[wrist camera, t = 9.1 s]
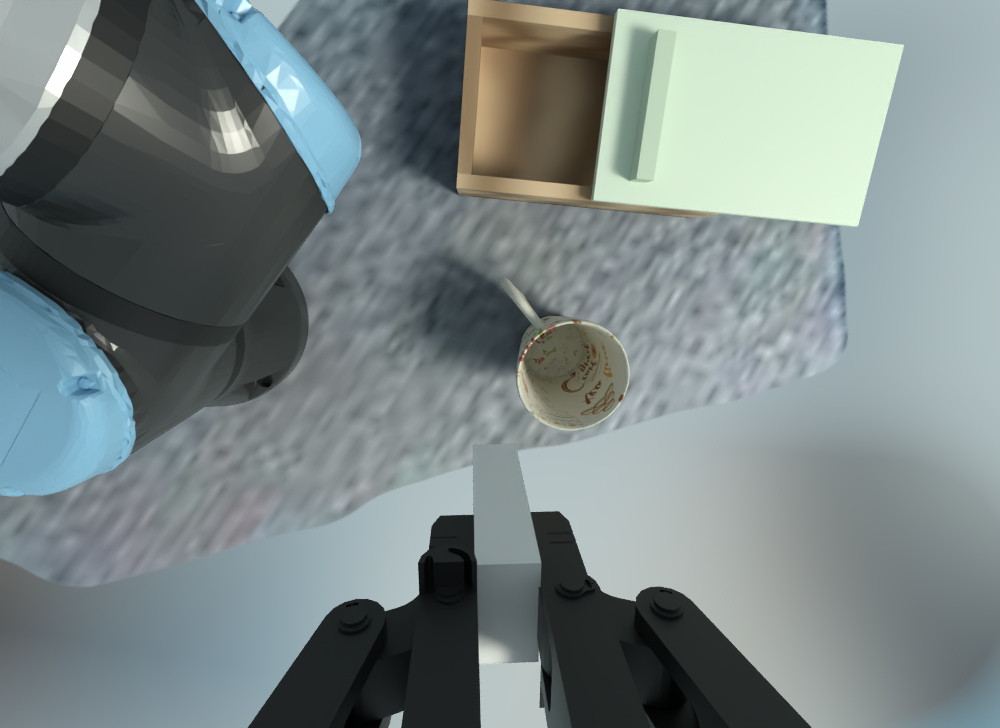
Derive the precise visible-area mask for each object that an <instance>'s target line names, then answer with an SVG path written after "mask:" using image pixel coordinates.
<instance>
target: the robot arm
mask: <svg viewBox="0 0 1000 728" xmlns="http://www.w3.org/2000/svg"><path fill="white" fill-rule="evenodd" d="M360 158H361V139H360V136H359V133H358V130H357V128H356V125H355V124H354V122H353V120H352V118H351V117H350V115H349V114H348V112H347V111H346V110H345V108H344V107H343V105H342V104H341V103H340V102H339V100H338V99H337V98H336V97H335V95H334V94H333V93H332V91H331V90H330V89H329V88H328V87H327V85H326V84H325V83H324V82H323V81H322V79H321V78H320V77H319V76H318V75H317V73H316V72H315V71H314V70H313V69H312V68H311V66H310V65H309V64H308V63H307V62H306V61H305V60H304V58H303V57H302V56H301V55H300V54H299V53H298V52H297V51H296V49H295V48H294V47H293V46H292V45H291V44H290V43H289V42H288V41H287V39H286V38H285V37H284V36H283V35H282V34H281V33H280V32H279V31H278V30H277V29H276V28H275V26H274V25H273V24H272V23H271V22H270V21H269V20H268V19H267V18H266V17H265V16H264V15H263V14H262V13H261V12H259V11H258V10H257V9H255V8H253V7H252V6H251V4H250V2H249V0H0V495H3V496H22V495H39V496H41V495H47V494H52V493H56V492H59V491H63V490H66V489H68V488H71V487H73V486H75V485H77V484H79V483H81V482H83V481H85V480H87V479H89V478H91V477H93V476H95V475H98V474H101V473H105V472H107V471H109V470H112V469H114V468H116V467H117V466H118V465H119V464H120V463H121V462H123V461H124V460H125V459H126V458H127V457H128V456H129V455H130V454H132V453H134V452H135V451H137V450H138V449H140V448H141V447H143V446H144V445H146V444H148V443H149V442H151V441H152V440H154V439H155V438H157V437H159V436H160V435H162V434H163V433H165V432H166V431H168V430H169V429H171V428H173V427H174V426H176V425H177V424H179V423H180V422H182V421H184V420H185V419H187V418H188V417H190V416H191V415H193V414H194V413H196V412H198V411H199V410H201V409H202V408H204V407H213V406H229V405H235V404H240V403H244V402H247V401H250V400H252V399H255V398H257V397H259V396H261V395H263V394H265V393H266V392H268V391H269V390H271V389H272V388H274V387H275V386H276V385H278V384H279V383H280V382H282V381H283V380H284V379H285V378H286V377H287V376H288V375H289V374H290V373H291V372H292V370H293V369H294V368H295V366H296V365H297V363H298V362H299V360H300V358H301V356H302V354H303V351H304V348H305V345H306V341H307V336H308V324H309V323H308V311H307V306H306V302H305V298H304V295H303V292H302V290H301V288H300V285H299V283H298V282H297V280H296V278H295V276H294V275H293V273H292V272H291V270H290V269H289V268H288V266H287V265H288V264H289V263H290V261H291V260H292V258H293V257H294V256H295V254H296V253H297V251H298V250H299V249H300V247H301V246H302V245H303V243H304V242H305V240H306V239H307V238H308V236H309V235H310V233H311V232H312V231H313V229H314V228H315V226H316V225H317V224H318V222H319V221H320V220H321V218H322V217H323V215H324V214H325V213H326V214H328V215H329V214H331V212H332V211H333V209H334V206H335V199H336V198H337V196H338V195H339V193H340V192H341V190H342V189H343V187H344V186H345V184H346V183H347V181H348V179H349V178H350V176H351V175H352V173H353V172H354V170H355V169H356V167H357V165H358V163H359V160H360ZM473 496H474V497H473V500H474V503H473V505H474V515H450V516H440V517H439V518H438V519H437V520H436V522H435V523H434V524H433V526H432V529H431V537H430V545H429V550H428V551H427V552H426V553H424V554H423V555H422V556H421V558H420V560H419V562H418V570H419V595H418V596H417V597H416V598H415V599H414V600H413V601H411V602H409V603H408V604H406V605H404V606H401V607H398V608H395V609H392V610H388V611H384V608H383V607H382V606H381V605H380V604H379V603H378V602H375V601H372V600H369V599H355V600H351V601H348V602H344V603H343V604H341V605H339V606H337V607H335V608H334V609H333V610H332V611H331V612H330V613H329V614H328V615H327V616H326V617H325V618H324V620H323V621H322V622H321V624H320V625H319V627H318V628H317V630H316V631H315V633H314V634H313V635H312V637H311V638H310V640H309V641H308V643H307V644H306V645H305V647H304V648H303V650H302V651H301V652H300V654H299V656H298V657H297V658H296V660H295V661H294V662H293V664H292V666H291V667H290V668H289V670H288V671H287V673H286V674H285V675H284V677H283V678H282V680H281V681H280V683H279V684H278V686H277V687H276V688H275V690H274V691H273V693H272V694H271V695H270V697H269V698H268V700H267V701H266V703H265V704H264V706H263V707H262V708H261V710H260V711H259V713H258V714H257V715H256V717H255V718H254V720H253V721H252V723H251V724H250V725H249V727H248V728H388V726H389V724H390V720H391V715H393V714H396V713H399V712H401V711H404V712H403V720H402V727H401V728H481V723H480V722H481V721H480V683H479V682H480V681H479V664H496V663H518V662H538V652H539V653H540V659H541V681H540V708H544V707H545V713H546V720H547V726H548V728H811V726H810V725H809V724H808V723H807V722H806V721H805V720H804V719H803V718H802V717H801V716H800V715H799V714H798V713H797V712H796V711H795V710H794V709H793V707H792V706H791V705H790V704H789V703H788V702H787V701H786V700H785V699H784V698H783V697H782V696H781V695H780V694H779V693H778V692H777V691H776V689H775V688H774V687H773V686H772V685H771V684H770V683H769V682H768V681H767V680H766V679H765V678H764V677H763V676H762V675H761V674H760V673H759V672H758V671H757V670H756V668H755V667H754V666H753V665H752V664H751V663H750V662H749V661H748V660H747V659H746V658H745V657H744V656H743V655H742V654H741V652H740V651H739V650H737V648H736V647H735V646H734V645H733V644H732V643H731V642H730V641H729V640H728V639H727V638H726V637H725V636H724V635H723V634H722V632H721V631H720V630H719V629H718V628H717V627H716V626H715V625H714V624H713V623H712V622H711V621H710V620H709V619H708V618H707V617H706V616H705V615H704V614H703V612H702V611H701V610H700V609H699V608H698V607H697V606H696V605H695V604H694V603H693V602H692V601H691V600H690V599H689V598H687V597H686V596H685V595H684V594H682V593H680V592H677V591H675V590H673V589H669V588H664V587H650V588H647V589H645V590H642V591H641V592H640V593H639V594H638V596H637V597H636V602H635V601H630V600H625V599H620V598H617V597H613V596H610V595H608V594H606V593H604V592H602V591H601V590H600V587H599V586H598V584H597V583H596V581H595V580H594V579H592V578H591V577H590V576H588V575H587V572H586V569H585V566H584V564H583V560H582V558H581V555H580V552H579V549H578V546H577V543H576V540H575V537H574V535H573V531H572V529H571V526H570V523H569V521H568V520H567V519H566V518H565V517H564V516H563V515H562V514H561V513H560V512H558V511H557V512H556V511H555V512H530V509H529V504H528V499H527V495H526V490H525V486H524V481H523V476H522V472H521V467H520V462H519V458H518V453H517V449H516V444H483V445H473Z"/></svg>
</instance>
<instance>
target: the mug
mask: <svg viewBox="0 0 1000 728" xmlns="http://www.w3.org/2000/svg"><path fill="white" fill-rule="evenodd" d="M500 283H501V285H502V287H503V288H504V290H505V291H506V292H507V293H508V295H509V296H510V297H511V299H512V300H513V301H514V302H515V304H516V305H517V306H518V308H519V309H520V310H521V311H522V312H523V314H524V315H525V316H526V317H527V319H528V320H529V321H530V322H531V325H530V326H529V327H528V329H527V330H526V331H525V333H524V335H523V337H522V340H521V344H520V349H519V355H518V361H517V367H516V385H517V390H518V393H519V396H520V399H521V401H522V403H523V404H524V406H525V407H526V409H527V410H528V411H529V412H530V413H531V414H532V415H533V416H534V417H535V418H536V419H537V420H539V421H540V422H542V423H544V424H546V425H548V426H550V427H553V428H556V429H561V430H579V429H584V428H588V427H591V426H593V425H596V424H598V423H599V422H601V421H603V420H604V419H606V418H607V417H608V416H609V415H611V414H612V413H613V412H614V411H615V409H616V408H617V407H618V406H619V404H620V403H621V401H622V399H623V397H624V395H625V393H626V390H627V387H628V383H629V363H628V359H627V355H626V353H625V351H624V348H623V347H622V345H621V343H620V342H619V341H618V339H617V338H616V337H615V336H614V335H613V334H612V333H611V332H609V331H608V330H607V329H605V328H604V327H602V326H600V325H598V324H596V323H593V322H590V321H587V320H582V319H576V318H569V317H563V316H547V317H543V318H541V319H540V318H539V317H538V316H537V314H536V313H535V311H534V310H533V308H532V307H531V305H530V304H529V303H528V301H527V300H526V298H525V297H524V295H523V294H522V293H521V292H520V291H519V290H518V289H517V288H516V287H515V286H514V285H513V284H512V283H511V282H510V281H509V280H508V279H507V278H505V277H502V278H501V279H500Z"/></svg>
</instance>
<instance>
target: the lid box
mask: <svg viewBox="0 0 1000 728" xmlns="http://www.w3.org/2000/svg"><path fill="white" fill-rule="evenodd" d="M613 24H614V16H611V15H603V14H595V13H587V12H579V11H571V10H563V9H555V8H547V7H540V6H532V5H524V4H516V3H508V2H500V1H492V0H469V2H468V18H467V33H466V48H465V64H464V79H463V94H462V110H461V125H460V141H459V156H458V171H457V187H456V188H457V191H458V194H459V195H463V196H473V197H483V198H493V199H503V200H513V201H524V202H534V203H544V204H554V205H564V206H574V207H585V208H595V209H605V210H615V211H625V212H635V213H645V214H656V215H666V216H676V217H686V218H690V217H701V216H711V215H722V214H718V213H708V212H698V211H688V210H678V209H668V208H658V207H648V206H638V205H628V204H618V203H608V202H598V201H591V196H592V188H593V180H594V172H595V164H596V156H597V149H598V141H599V133H600V125H601V117H602V110H603V102H604V94H605V86H606V78H607V70H608V63H609V55H610V47H611V39H612V31H613Z"/></svg>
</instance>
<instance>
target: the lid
mask: <svg viewBox="0 0 1000 728" xmlns="http://www.w3.org/2000/svg"><path fill="white" fill-rule="evenodd" d="M903 47H904V45H899V44H891V43H883V42H876V41H867V40H860V39H852V38H844V37H836V36H829V35H821V34H813V33H805V32H797V31H790V30H782V29H774V28H766V27H758V26H750V25H743V24H735V23H727V22H719V21H711V20H703V19H696V18H688V17H680V16H672V15H664V14H656V13H649V12H641V11H633V10H625V9H618V10H617V11H616V13H615V16H614V24H613V31H612V39H611V47H610V55H609V63H608V70H607V78H606V86H605V94H604V102H603V110H602V117H601V125H600V133H599V141H598V149H597V156H596V164H595V172H594V180H593V188H592V196H591V201H598V202H608V203H618V204H628V205H638V206H648V207H658V208H668V209H678V210H688V211H698V212H708V213H718V214H728V215H738V216H748V217H759V218H769V219H779V220H789V221H799V222H809V223H819V224H829V225H839V226H849V227H850V226H851V227H853V226H858V224H859V220H860V216H861V212H862V208H863V204H864V200H865V196H866V192H867V188H868V185H869V181H870V177H871V173H872V169H873V165H874V161H875V157H876V153H877V149H878V145H879V141H880V138H881V134H882V130H883V126H884V122H885V118H886V114H887V110H888V106H889V102H890V98H891V94H892V90H893V87H894V82H895V79H896V75H897V71H898V67H899V63H900V59H901V54H902V51H903Z"/></svg>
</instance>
